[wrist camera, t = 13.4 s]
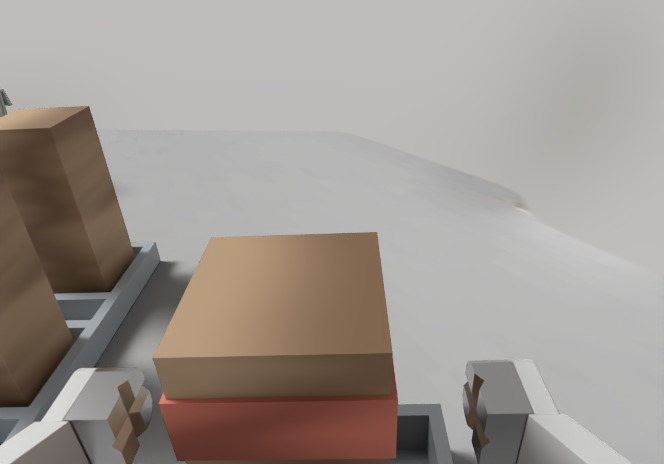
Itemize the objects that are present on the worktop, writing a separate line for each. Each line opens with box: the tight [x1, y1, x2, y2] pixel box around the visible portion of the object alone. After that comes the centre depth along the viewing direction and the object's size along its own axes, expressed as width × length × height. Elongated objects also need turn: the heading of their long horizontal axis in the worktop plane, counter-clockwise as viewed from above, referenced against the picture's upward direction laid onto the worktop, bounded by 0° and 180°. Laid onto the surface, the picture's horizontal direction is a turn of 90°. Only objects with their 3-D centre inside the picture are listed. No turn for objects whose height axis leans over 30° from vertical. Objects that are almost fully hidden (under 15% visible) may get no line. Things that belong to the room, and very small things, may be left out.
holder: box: [0, 242, 160, 443], centre depth 22 cm, size 6×22×2 cm, turn 179°
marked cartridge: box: [153, 232, 398, 464], centre depth 12 cm, size 4×4×11 cm
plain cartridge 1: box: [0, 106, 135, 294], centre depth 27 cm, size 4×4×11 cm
